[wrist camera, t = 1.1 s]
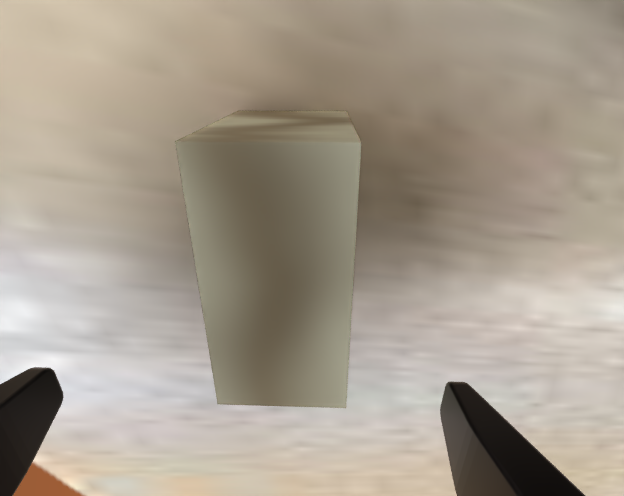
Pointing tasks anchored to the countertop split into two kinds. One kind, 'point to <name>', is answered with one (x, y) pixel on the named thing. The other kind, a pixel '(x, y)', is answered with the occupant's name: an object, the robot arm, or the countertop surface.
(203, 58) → the countertop surface
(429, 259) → the countertop surface
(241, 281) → the sage block
